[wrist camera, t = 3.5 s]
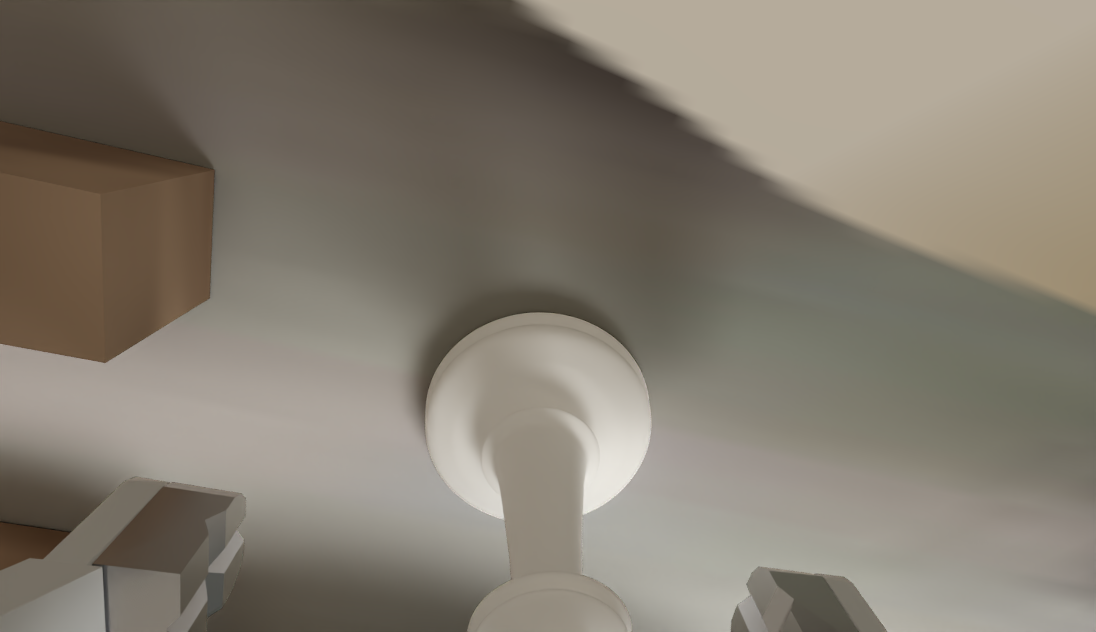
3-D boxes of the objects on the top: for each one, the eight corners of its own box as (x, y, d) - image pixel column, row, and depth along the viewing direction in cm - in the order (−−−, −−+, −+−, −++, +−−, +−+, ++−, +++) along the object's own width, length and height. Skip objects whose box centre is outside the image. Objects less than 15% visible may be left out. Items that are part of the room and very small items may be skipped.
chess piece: (427, 303, 11) (7, 1183, 2) (664, 318, 12) (1205, 1133, 2) (425, 502, 13) (188, 1475, 4) (632, 510, 14) (882, 1422, 4)
